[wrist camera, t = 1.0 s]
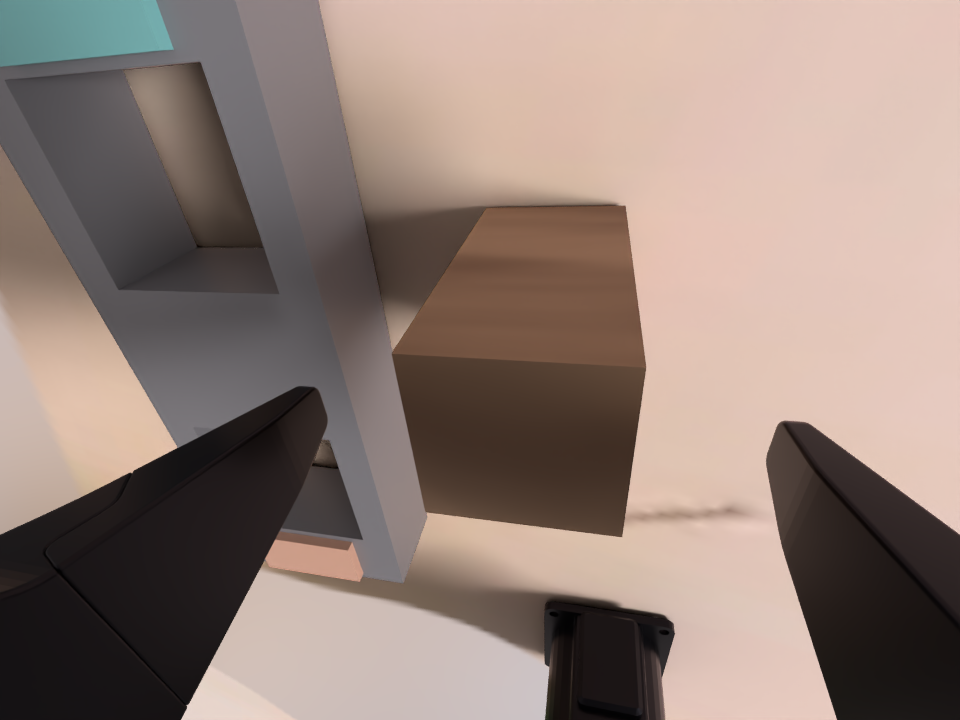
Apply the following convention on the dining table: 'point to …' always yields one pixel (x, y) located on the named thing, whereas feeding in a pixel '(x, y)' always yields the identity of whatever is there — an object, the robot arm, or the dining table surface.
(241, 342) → the socket strip
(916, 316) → the dining table surface
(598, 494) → the brown wooden block
